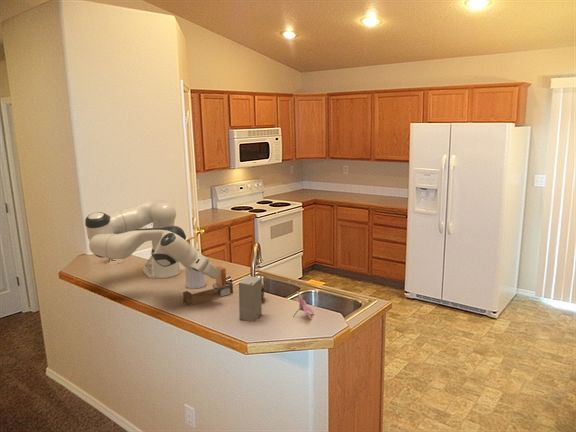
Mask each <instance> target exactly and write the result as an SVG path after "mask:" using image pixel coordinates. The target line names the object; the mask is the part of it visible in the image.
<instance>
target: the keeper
mask: <svg viewBox="0 0 576 432" xmlns="http://www.w3.org/2000/svg"><path fill="white" fill-rule="evenodd" d="M214 267H215V268H216V269H217V270H218V271H219V272H220V274H219V275H218V277H217V278H216V279H215V283H213V284H212V289H213V288H216V289H218V290H219V294H220V297H221V298H222V297H225V296H229V295H231V294H230V285H228V284H226V281H227V272H226V271H227V270H226V269H227V268H225V267H222V266H214Z"/></svg>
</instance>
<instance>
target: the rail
mask: <svg viewBox="0 0 576 432" xmlns="http://www.w3.org/2000/svg"><path fill="white" fill-rule="evenodd" d="M226 284H228V285H230V294H229V295H231V294H233V293H234V287H233V285H234V284H233V281H230V280H226ZM182 297H183V300H182V301H183V304H185V305H187V306H190V305H196V304H198V303H202V302H205V301H209V300H212V299H216V298H219V297H220V294H219V290H218V289H216V288H213V287H212V288H209V289H207V290H203V291H199V292H195V293H192V292H190V291H188V290H186V291H182Z"/></svg>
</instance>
